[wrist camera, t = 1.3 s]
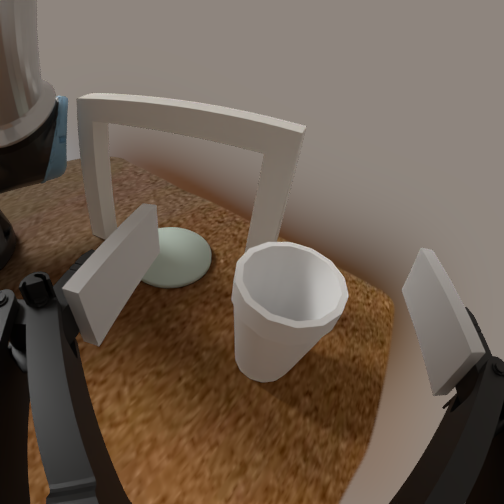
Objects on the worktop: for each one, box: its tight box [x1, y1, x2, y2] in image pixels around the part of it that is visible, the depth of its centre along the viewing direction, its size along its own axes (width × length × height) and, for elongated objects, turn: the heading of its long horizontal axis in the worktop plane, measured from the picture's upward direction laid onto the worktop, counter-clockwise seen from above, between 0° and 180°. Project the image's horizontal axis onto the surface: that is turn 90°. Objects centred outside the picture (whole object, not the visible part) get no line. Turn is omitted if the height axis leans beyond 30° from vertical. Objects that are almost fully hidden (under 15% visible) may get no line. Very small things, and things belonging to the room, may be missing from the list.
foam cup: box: [231, 242, 349, 383], centre depth 28 cm, size 10×9×13 cm
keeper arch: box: [77, 93, 306, 288], centre depth 34 cm, size 28×12×22 cm, turn 73°
